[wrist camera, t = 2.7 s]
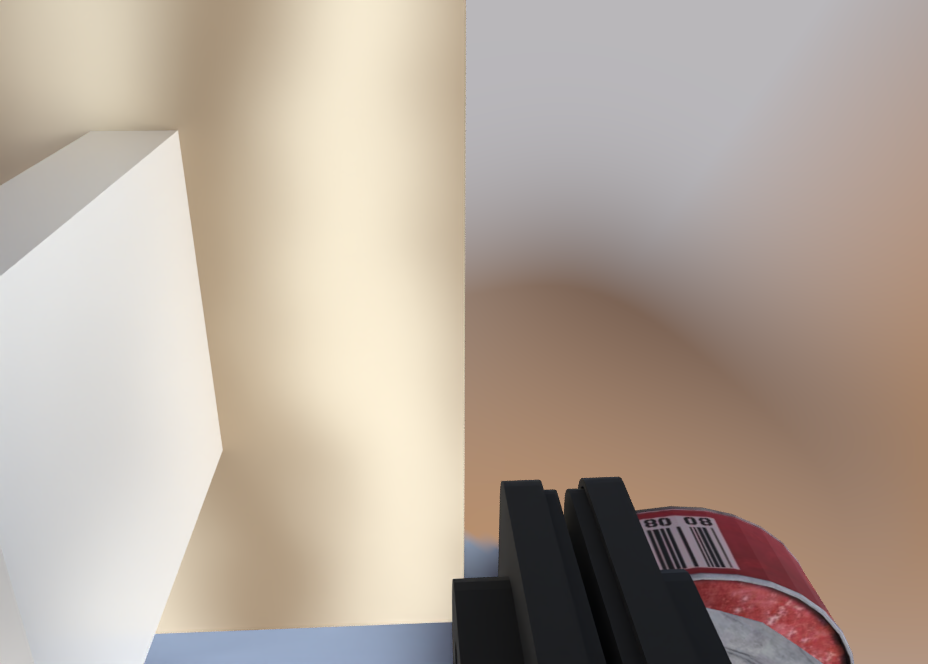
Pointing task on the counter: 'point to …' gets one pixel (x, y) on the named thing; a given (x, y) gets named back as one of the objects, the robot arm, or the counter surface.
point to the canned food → (747, 586)
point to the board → (295, 278)
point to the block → (99, 398)
